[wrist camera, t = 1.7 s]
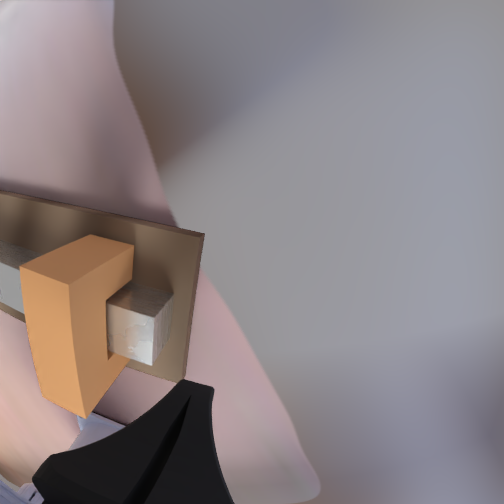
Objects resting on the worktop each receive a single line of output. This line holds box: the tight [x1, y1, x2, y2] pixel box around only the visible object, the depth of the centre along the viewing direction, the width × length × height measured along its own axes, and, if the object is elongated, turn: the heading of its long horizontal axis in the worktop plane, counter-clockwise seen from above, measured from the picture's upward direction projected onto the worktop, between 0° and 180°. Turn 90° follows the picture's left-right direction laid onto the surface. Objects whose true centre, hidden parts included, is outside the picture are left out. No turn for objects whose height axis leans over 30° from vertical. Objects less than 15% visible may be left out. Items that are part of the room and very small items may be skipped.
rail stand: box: [0, 190, 205, 383], centre depth 17 cm, size 26×10×4 cm, turn 79°
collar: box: [19, 234, 134, 419], centre depth 14 cm, size 3×8×6 cm, turn 169°
